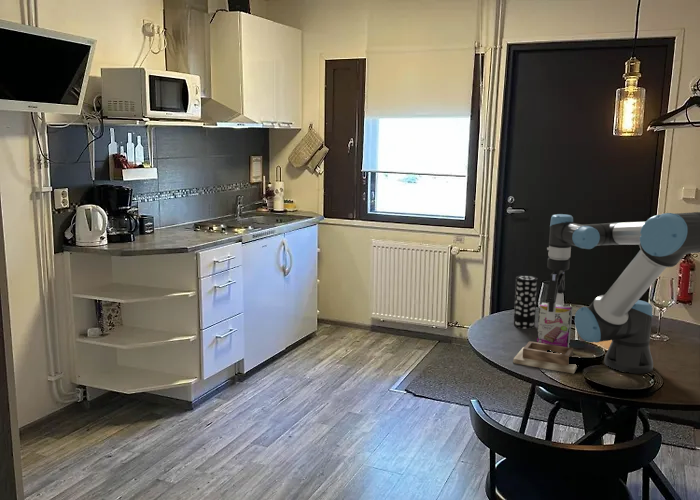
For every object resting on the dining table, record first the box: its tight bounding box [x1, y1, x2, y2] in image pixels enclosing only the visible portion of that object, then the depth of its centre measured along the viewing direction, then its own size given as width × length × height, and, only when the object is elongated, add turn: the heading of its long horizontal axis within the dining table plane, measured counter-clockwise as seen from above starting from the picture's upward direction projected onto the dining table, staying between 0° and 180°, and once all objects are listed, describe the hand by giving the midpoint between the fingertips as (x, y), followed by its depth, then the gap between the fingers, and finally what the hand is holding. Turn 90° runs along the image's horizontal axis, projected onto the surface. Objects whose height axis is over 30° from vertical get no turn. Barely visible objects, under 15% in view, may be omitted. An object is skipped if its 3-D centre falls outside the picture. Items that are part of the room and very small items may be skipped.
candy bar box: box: [536, 302, 574, 348], centre depth 234 cm, size 11×5×16 cm, turn 64°
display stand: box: [512, 340, 578, 375], centre depth 222 cm, size 20×14×5 cm
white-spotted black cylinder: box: [513, 275, 538, 330], centre depth 261 cm, size 8×8×20 cm
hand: (554, 315), depth 233 cm, fingers open, 13 cm apart
